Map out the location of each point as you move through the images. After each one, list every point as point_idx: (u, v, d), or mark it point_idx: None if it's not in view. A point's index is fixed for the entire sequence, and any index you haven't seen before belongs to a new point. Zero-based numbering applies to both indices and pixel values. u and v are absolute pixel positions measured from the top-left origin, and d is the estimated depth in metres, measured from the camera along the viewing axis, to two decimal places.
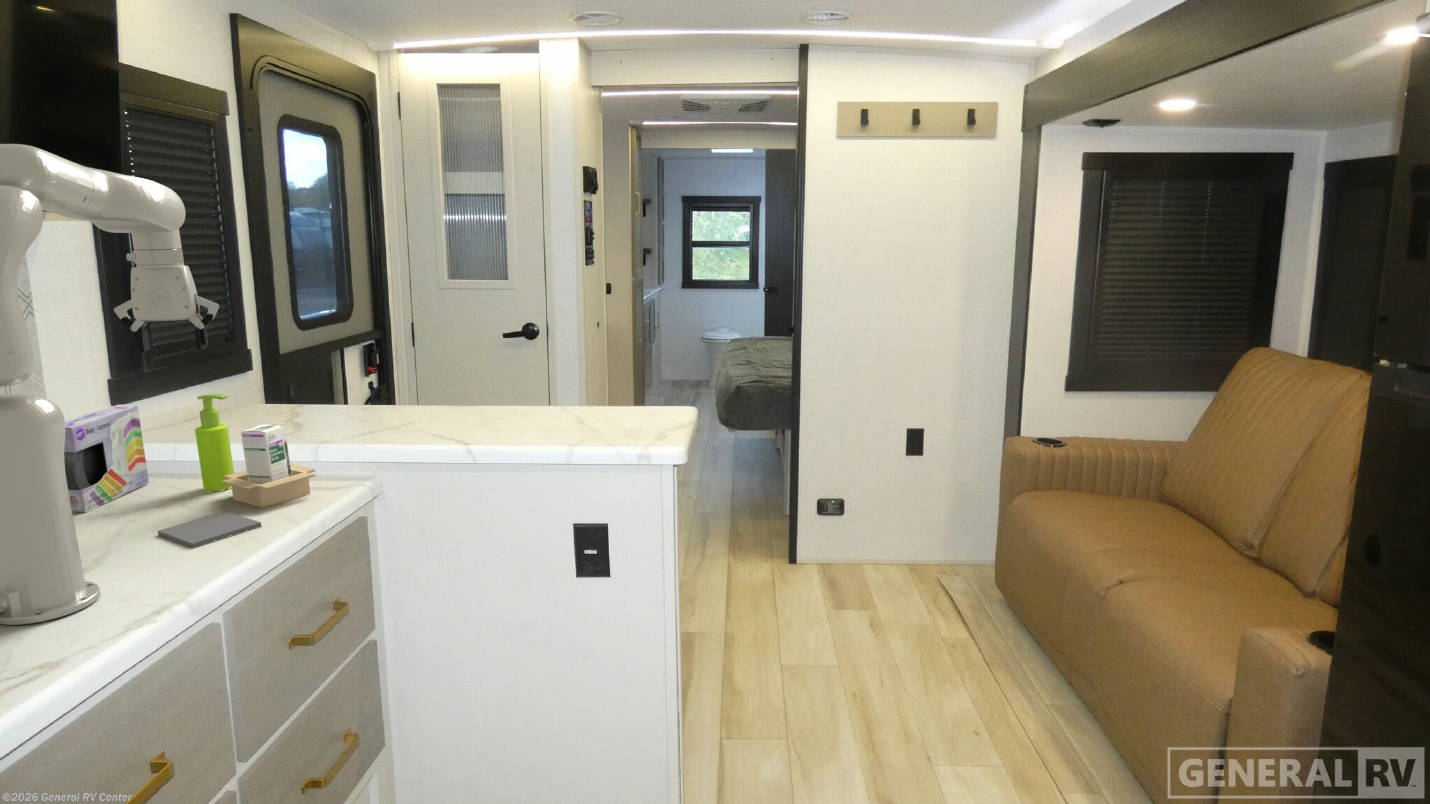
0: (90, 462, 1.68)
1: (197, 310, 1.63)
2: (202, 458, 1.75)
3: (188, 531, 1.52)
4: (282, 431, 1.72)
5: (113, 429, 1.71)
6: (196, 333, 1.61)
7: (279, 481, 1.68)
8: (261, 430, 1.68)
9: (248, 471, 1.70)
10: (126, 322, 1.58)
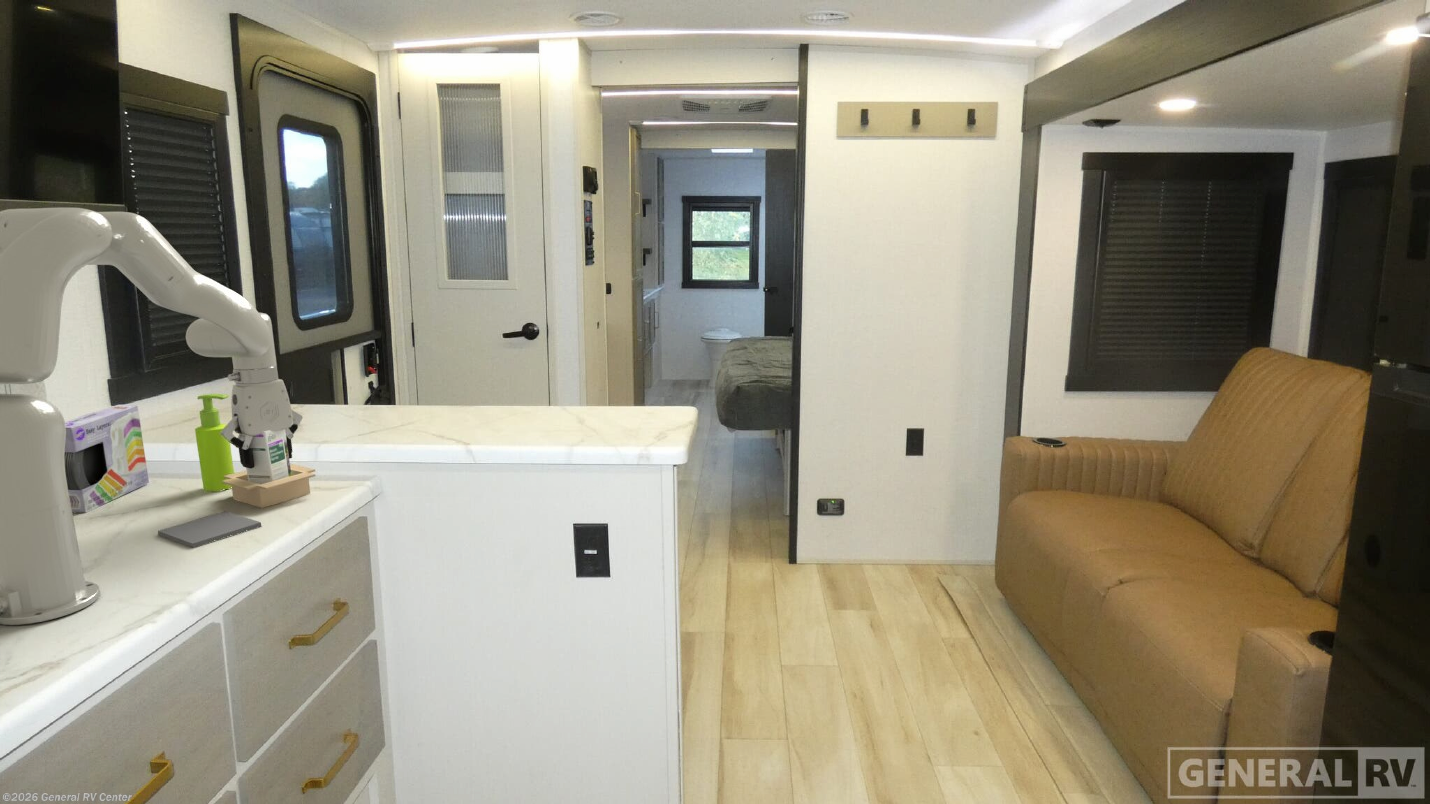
0: (90, 462, 1.68)
1: None
2: (202, 458, 1.75)
3: (188, 531, 1.52)
4: (282, 430, 1.72)
5: (113, 429, 1.71)
6: (288, 443, 1.73)
7: (279, 481, 1.68)
8: None
9: (248, 471, 1.70)
10: (237, 442, 1.65)
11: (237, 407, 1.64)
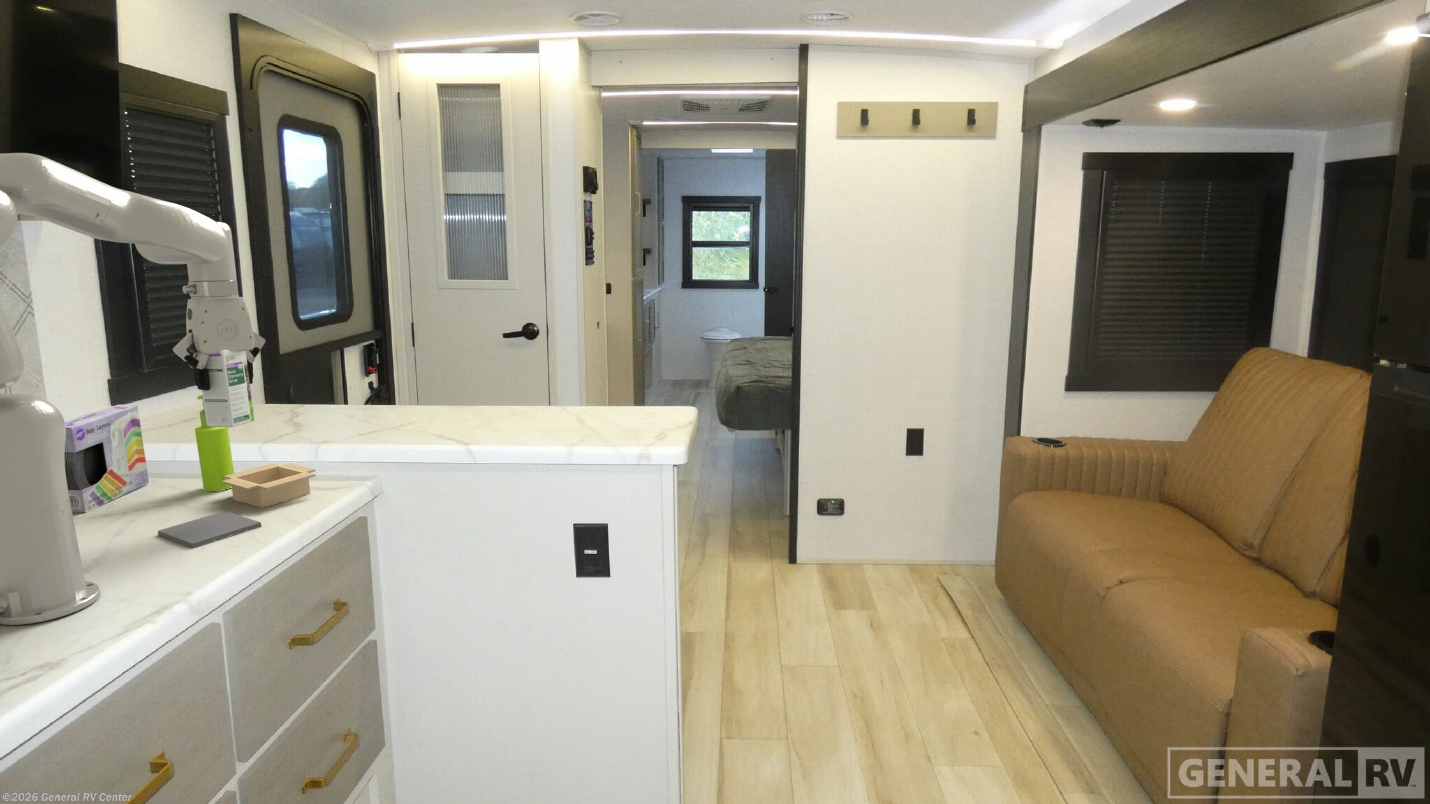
0: (90, 462, 1.68)
1: None
2: (202, 458, 1.75)
3: (188, 531, 1.52)
4: (242, 352, 1.59)
5: (113, 429, 1.71)
6: (248, 367, 1.60)
7: (279, 481, 1.68)
8: None
9: (204, 394, 1.57)
10: (191, 360, 1.52)
11: (192, 322, 1.52)
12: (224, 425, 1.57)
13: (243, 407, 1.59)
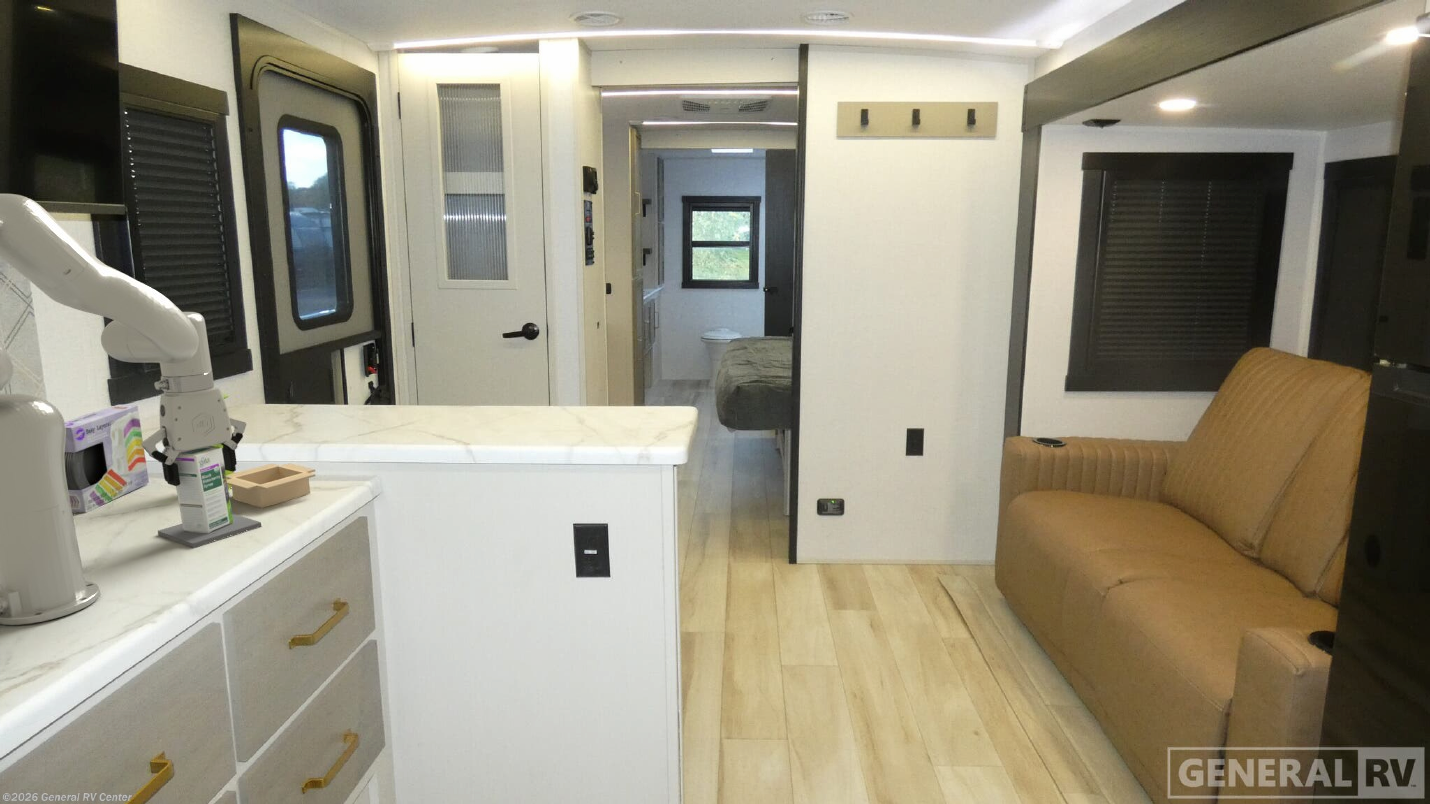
0: (90, 462, 1.68)
1: None
2: None
3: (188, 531, 1.52)
4: (218, 453, 1.52)
5: (113, 429, 1.71)
6: (231, 455, 1.55)
7: (279, 481, 1.68)
8: (192, 453, 1.48)
9: (179, 499, 1.51)
10: (159, 456, 1.45)
11: (165, 419, 1.45)
12: (200, 530, 1.51)
13: (220, 510, 1.53)
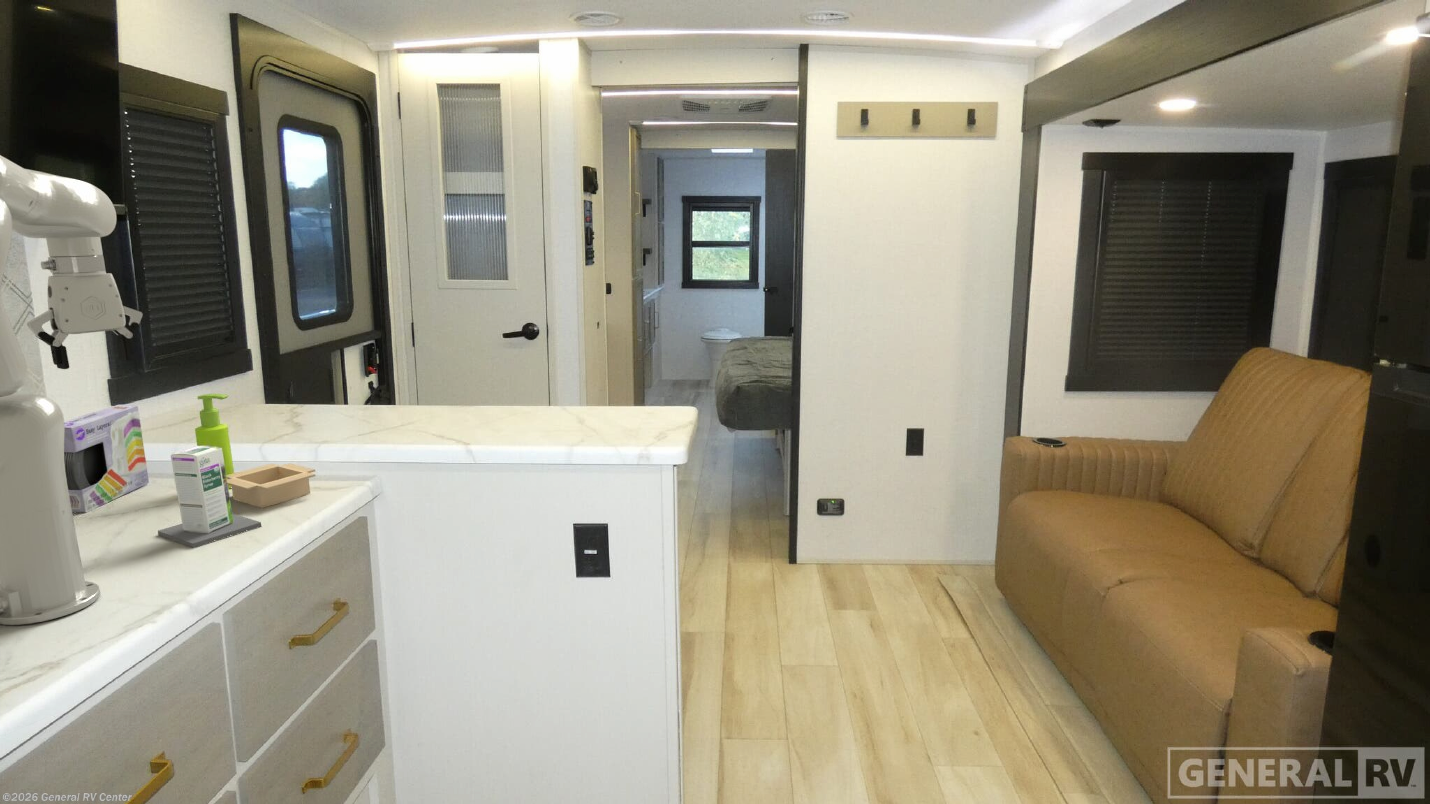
0: (90, 462, 1.68)
1: None
2: None
3: (188, 531, 1.52)
4: (218, 453, 1.52)
5: (113, 429, 1.71)
6: (125, 343, 1.53)
7: (279, 481, 1.68)
8: (192, 453, 1.48)
9: (179, 499, 1.51)
10: (45, 337, 1.44)
11: (52, 300, 1.44)
12: (200, 530, 1.51)
13: (220, 510, 1.53)
